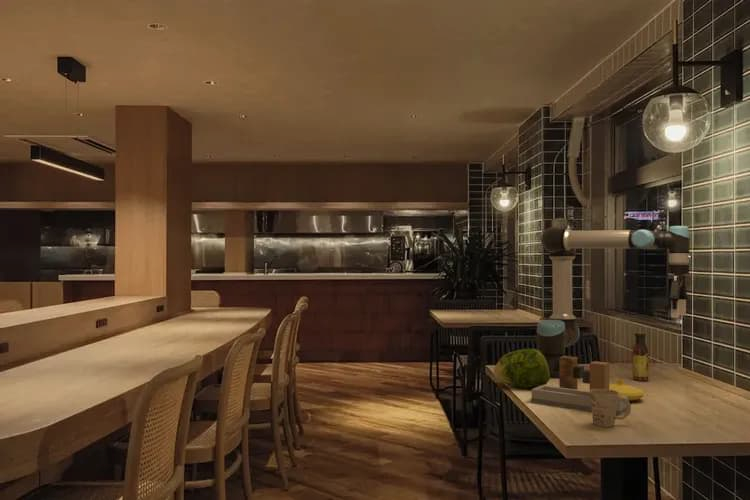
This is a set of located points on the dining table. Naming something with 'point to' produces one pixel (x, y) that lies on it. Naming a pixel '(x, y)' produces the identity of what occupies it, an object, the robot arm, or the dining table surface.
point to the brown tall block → (570, 372)
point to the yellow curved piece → (626, 390)
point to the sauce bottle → (640, 358)
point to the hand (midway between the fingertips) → (678, 316)
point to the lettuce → (522, 369)
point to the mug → (606, 406)
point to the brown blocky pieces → (578, 391)
